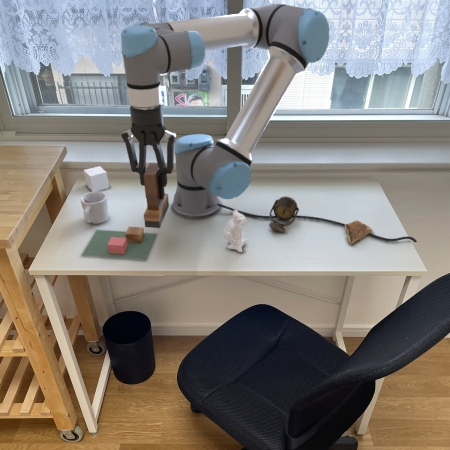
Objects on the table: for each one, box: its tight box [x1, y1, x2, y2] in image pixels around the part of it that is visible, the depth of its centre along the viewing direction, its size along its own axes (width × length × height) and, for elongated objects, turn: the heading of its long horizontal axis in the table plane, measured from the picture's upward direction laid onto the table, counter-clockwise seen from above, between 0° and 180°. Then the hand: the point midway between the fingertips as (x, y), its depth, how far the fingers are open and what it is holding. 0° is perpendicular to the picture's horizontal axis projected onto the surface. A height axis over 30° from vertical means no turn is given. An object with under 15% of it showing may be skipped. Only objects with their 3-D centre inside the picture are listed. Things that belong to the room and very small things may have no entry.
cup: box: [79, 191, 109, 225], centre depth 136 cm, size 11×8×8 cm
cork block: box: [125, 226, 145, 243], centre depth 130 cm, size 4×4×3 cm
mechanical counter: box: [268, 196, 300, 233], centre depth 137 cm, size 7×13×10 cm
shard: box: [344, 220, 373, 245], centre depth 134 cm, size 11×8×2 cm
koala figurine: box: [223, 209, 248, 253], centre depth 125 cm, size 8×7×12 cm
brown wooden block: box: [143, 162, 170, 229], centre depth 117 cm, size 12×4×14 cm, turn 174°
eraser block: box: [107, 237, 128, 254], centre depth 126 cm, size 4×4×3 cm
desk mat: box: [82, 229, 156, 260], centre depth 129 cm, size 18×13×1 cm
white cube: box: [83, 165, 110, 192], centre depth 155 cm, size 6×6×6 cm
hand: (155, 196), depth 117 cm, fingers closed on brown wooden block, 3 cm apart
